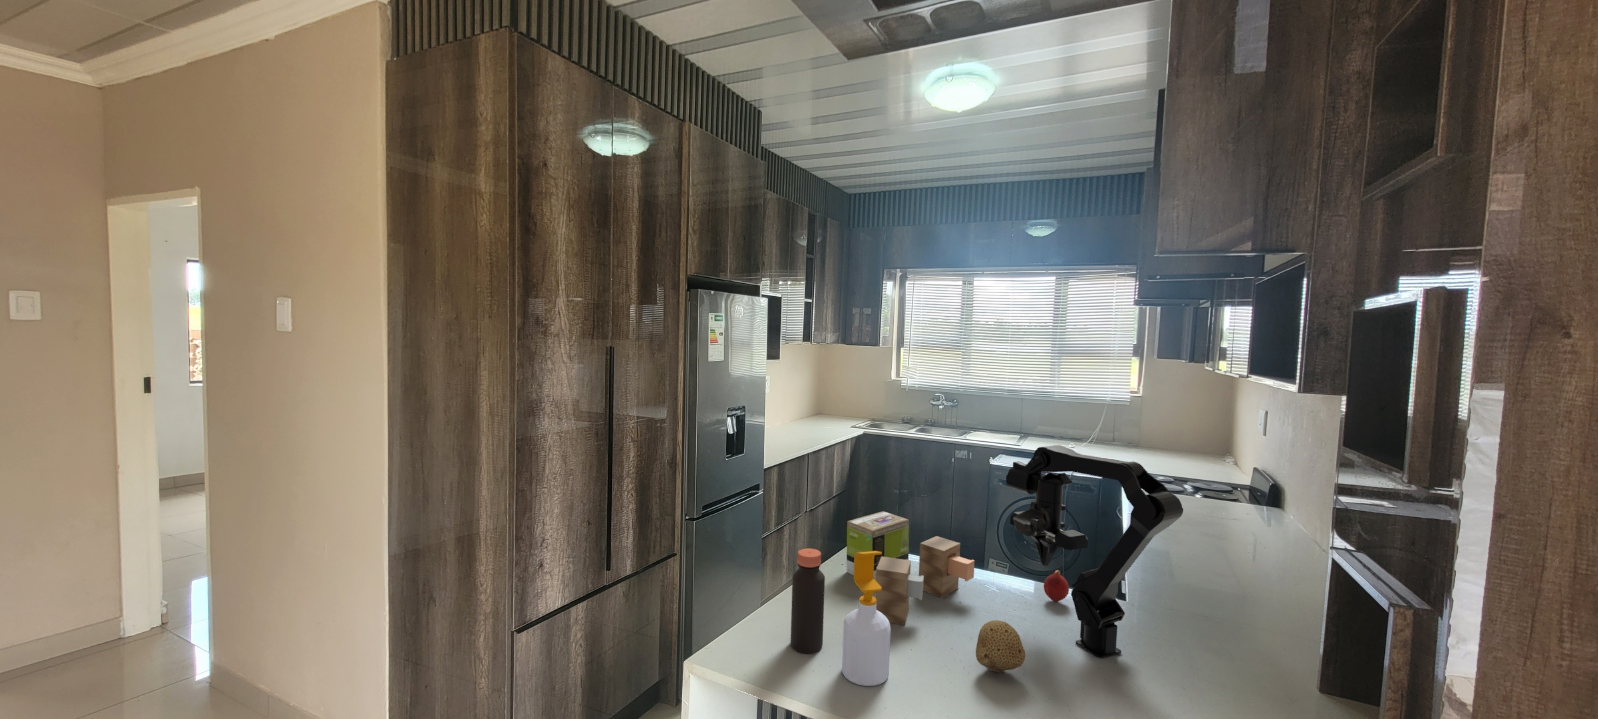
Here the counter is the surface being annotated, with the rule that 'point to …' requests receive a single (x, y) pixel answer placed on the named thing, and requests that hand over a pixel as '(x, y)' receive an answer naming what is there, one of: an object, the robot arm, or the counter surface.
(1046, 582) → the onion
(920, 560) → the walnut block right
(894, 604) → the walnut block left
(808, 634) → the vinegar
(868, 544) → the tea box
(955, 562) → the tan rectangular block
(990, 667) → the natural sponge
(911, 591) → the grey key
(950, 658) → the counter surface
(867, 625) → the soap bottle
